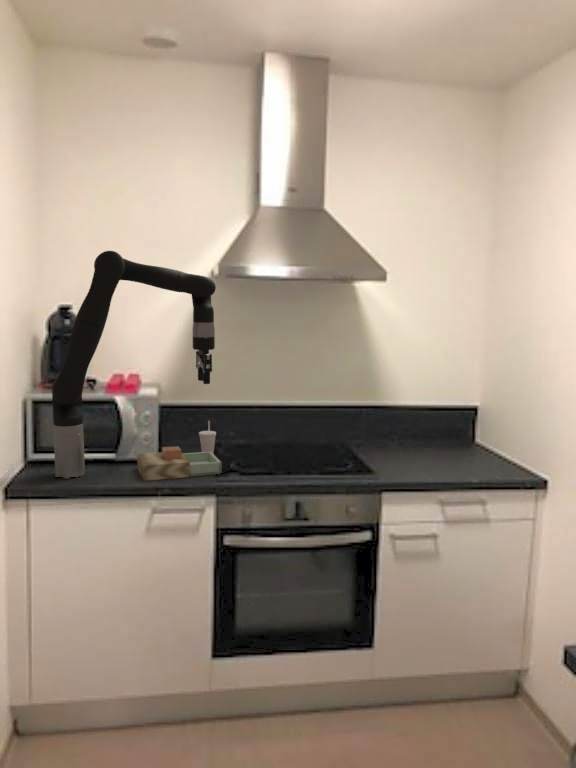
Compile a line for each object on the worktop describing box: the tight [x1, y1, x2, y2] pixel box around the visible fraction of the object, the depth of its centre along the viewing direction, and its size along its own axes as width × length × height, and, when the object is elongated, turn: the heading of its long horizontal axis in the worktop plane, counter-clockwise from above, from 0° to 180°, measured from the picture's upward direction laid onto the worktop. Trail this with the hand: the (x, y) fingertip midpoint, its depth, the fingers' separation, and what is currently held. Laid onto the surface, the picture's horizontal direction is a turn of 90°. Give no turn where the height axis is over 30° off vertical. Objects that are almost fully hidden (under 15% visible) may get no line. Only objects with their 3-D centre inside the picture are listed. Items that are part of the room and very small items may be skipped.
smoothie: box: [198, 420, 217, 454], centre depth 236 cm, size 6×6×14 cm
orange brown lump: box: [161, 445, 182, 460], centre depth 218 cm, size 6×6×3 cm
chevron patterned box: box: [136, 451, 191, 482], centre depth 217 cm, size 15×16×5 cm
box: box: [182, 451, 223, 478], centre depth 222 cm, size 10×16×4 cm, turn 20°
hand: (203, 382), depth 224 cm, fingers open, 8 cm apart
